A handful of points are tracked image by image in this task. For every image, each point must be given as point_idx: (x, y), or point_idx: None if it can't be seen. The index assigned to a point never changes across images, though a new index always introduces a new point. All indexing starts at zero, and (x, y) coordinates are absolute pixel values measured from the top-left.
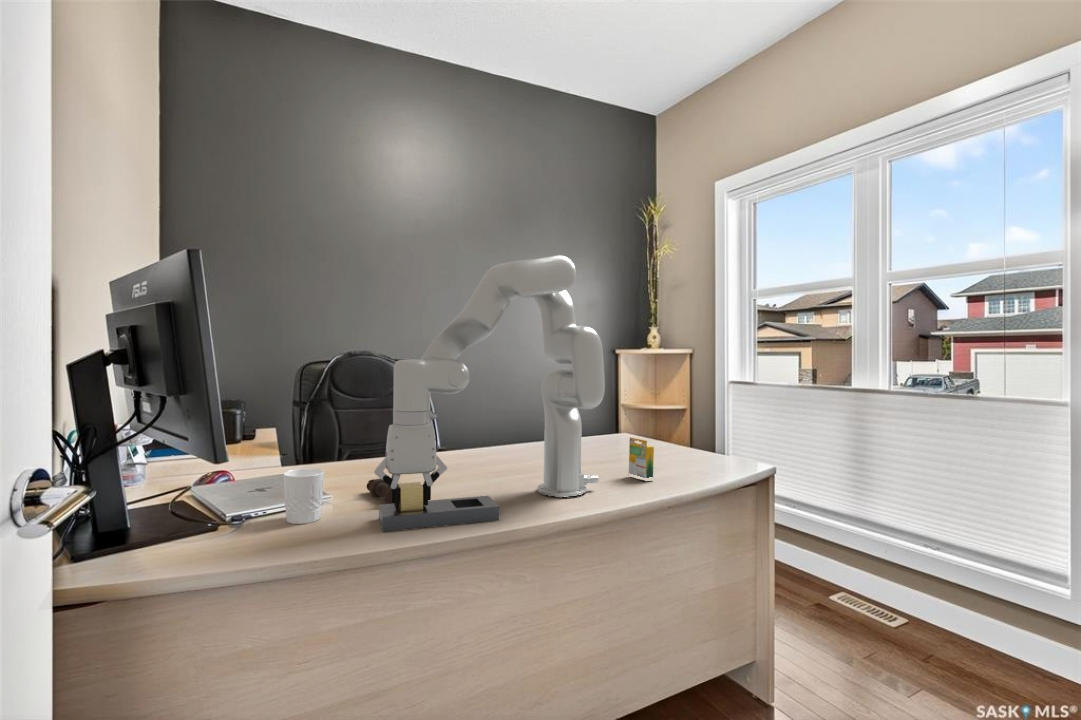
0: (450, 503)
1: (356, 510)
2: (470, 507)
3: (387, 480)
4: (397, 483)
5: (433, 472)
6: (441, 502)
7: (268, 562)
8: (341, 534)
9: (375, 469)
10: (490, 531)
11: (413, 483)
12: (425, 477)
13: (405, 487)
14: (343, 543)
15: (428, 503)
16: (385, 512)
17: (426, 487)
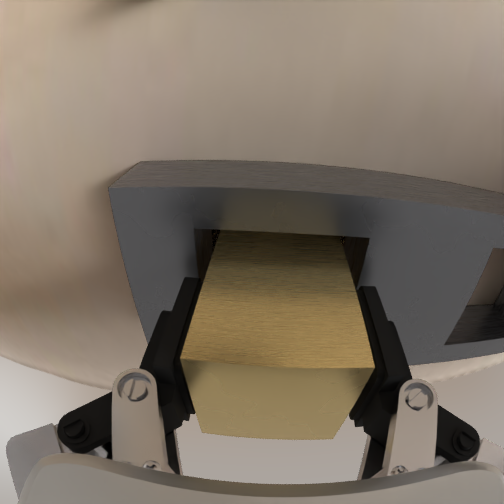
0: (468, 288)
1: (54, 16)
2: (478, 345)
3: (109, 442)
4: (176, 445)
5: (447, 461)
6: (451, 261)
7: (16, 354)
8: (57, 286)
9: (13, 462)
10: (442, 374)
11: (309, 386)
12: (362, 474)
13: (231, 426)
14: (85, 341)
15: (391, 258)
16: (154, 317)
17: (359, 422)
